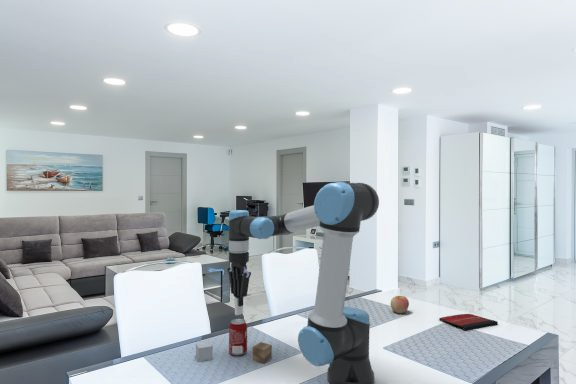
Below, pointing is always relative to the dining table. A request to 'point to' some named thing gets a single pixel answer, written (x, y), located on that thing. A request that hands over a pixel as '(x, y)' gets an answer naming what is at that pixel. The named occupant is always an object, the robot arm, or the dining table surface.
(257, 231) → the robot arm
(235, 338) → the soda can
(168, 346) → the dining table surface
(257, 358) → the walnut cube
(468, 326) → the binder
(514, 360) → the dining table surface
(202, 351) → the grey cube
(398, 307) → the apple
